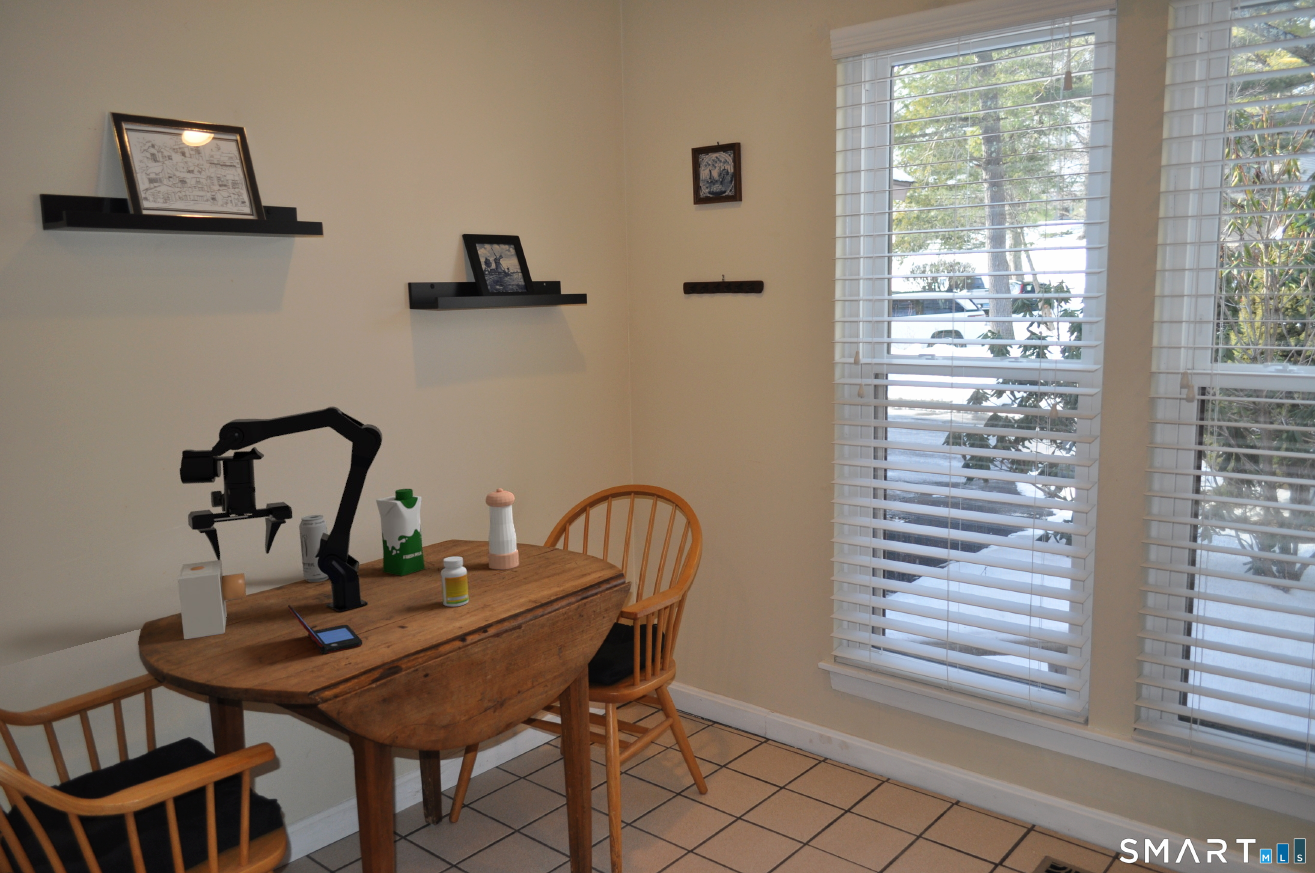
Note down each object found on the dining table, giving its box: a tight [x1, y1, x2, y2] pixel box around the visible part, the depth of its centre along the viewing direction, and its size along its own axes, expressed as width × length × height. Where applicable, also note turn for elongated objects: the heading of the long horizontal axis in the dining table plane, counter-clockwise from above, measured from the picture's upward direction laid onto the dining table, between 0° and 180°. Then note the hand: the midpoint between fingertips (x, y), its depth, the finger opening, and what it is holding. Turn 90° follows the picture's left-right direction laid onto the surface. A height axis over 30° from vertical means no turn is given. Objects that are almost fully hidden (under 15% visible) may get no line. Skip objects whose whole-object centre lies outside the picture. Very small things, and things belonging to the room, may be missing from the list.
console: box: [177, 559, 228, 640], centre depth 178 cm, size 7×12×12 cm, turn 24°
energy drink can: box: [298, 514, 329, 583], centre depth 209 cm, size 6×6×15 cm
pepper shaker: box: [485, 487, 520, 570], centre depth 215 cm, size 7×7×19 cm
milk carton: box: [375, 488, 426, 577], centre depth 214 cm, size 9×9×20 cm
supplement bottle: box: [440, 556, 470, 608], centre depth 188 cm, size 5×5×10 cm
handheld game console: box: [287, 604, 363, 655], centre depth 167 cm, size 12×11×7 cm
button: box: [222, 572, 247, 602], centre depth 180 cm, size 4×5×5 cm
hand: (243, 556), depth 182 cm, fingers open, 9 cm apart
